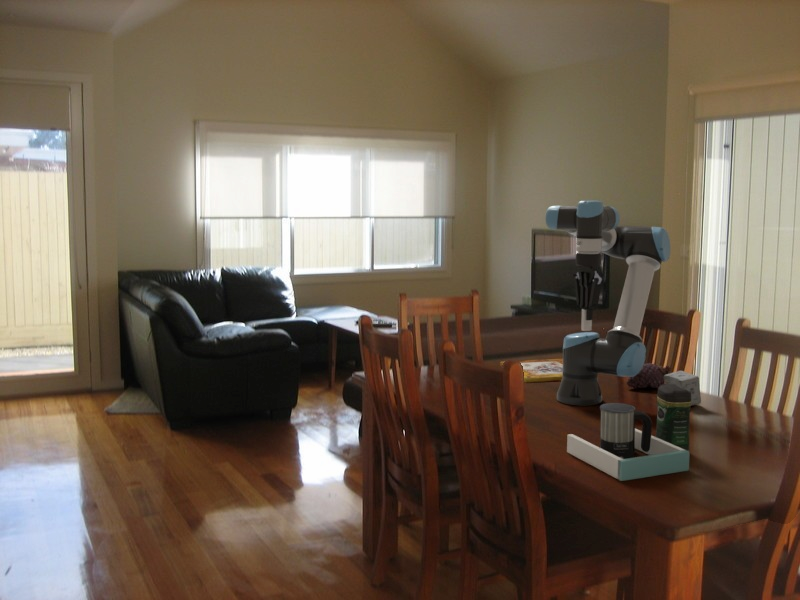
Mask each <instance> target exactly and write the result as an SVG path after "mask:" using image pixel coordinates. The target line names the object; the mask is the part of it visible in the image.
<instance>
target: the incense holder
mask: <svg viewBox="0 0 800 600" xmlns="http://www.w3.org/2000/svg"><path fill="white" fill-rule="evenodd" d="M664 383H665V384H676V385H677V386H680V387H682V388H684V389H686V390H688V391H690V392H691V406H696V405H700V404H701V403H702V399H701V387H700V386H701V385H700V384H701V383H700V377H699V375H695V374H692V373H689V372H686V371H684V370H678V371H675V372H669V373H668V374H667V375H664Z"/></svg>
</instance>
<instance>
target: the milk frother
mask: <svg viewBox="0 0 800 600" xmlns="http://www.w3.org/2000/svg"><path fill="white" fill-rule="evenodd" d="M599 409H600V445H599V446H600V447H599V448H601V449H603V450H606V451H608V452H610V453H612V454H614V455H616V456H618V457H620V458H622V459H628V458H634V456H635V453H636V452H635V450H636V449H635V428H636V420H640V421H641V422H642V427H641V428H642V429H641V431H642V438H641V448H642V450H643V451H645V452H648V451H649V450H650V442H651V435H652V432H653V431H652V430H653V421H652V418H651V417H650V416H649V415H648V414H647V413H646V412H644V411H641V410H636V407H635V406H633V405H631V404H628V403H621V402H607V403H603V404H601V405H600V406H599Z"/></svg>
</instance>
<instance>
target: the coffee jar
mask: <svg viewBox="0 0 800 600" xmlns="http://www.w3.org/2000/svg"><path fill="white" fill-rule="evenodd" d="M656 400H657V411H656V412H657V416H656V428H655V429H656V430H655V437H657V438H659V439H661V440H664V441H666V442H668V443H671V444H673V445H675V446H678V447H680V448H682V449H685V450H687V451H689V452H690V417H691V416H690V415H691V392H690V391H688V390H686V389H684V388H682V387H680V386H677V385H676V384H667V383H664V384H662V385H661V386H660V387H659V388H658V389H657V396H656Z"/></svg>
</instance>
